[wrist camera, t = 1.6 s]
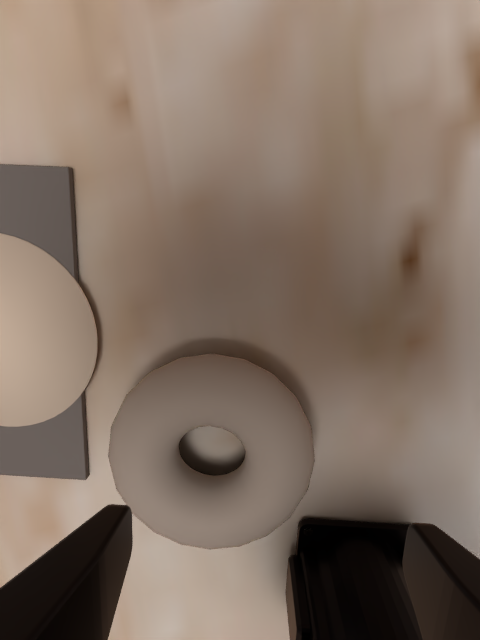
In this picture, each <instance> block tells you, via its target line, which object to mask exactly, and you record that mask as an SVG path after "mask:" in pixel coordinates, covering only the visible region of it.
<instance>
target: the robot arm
mask: <svg viewBox="0 0 480 640" xmlns="http://www.w3.org/2000/svg"><path fill="white" fill-rule="evenodd" d="M306 528H311V529H310V530H304V529H306ZM131 552H132V511H131V508H130V507H129V506H128V505H115V504H111V505H107V506H106V507H104V508H103V509H102V510H100V511H99V512H98V513H97V514H95V515H94V516H93V517H91V518H90V519H89V520H87V521H86V522H85V523H84V524H82V525H81V526H80V527H78V528H77V529H76V530H75V531H73V532H72V533H71V534H69V535H68V536H67V537H66V538H64V539H63V540H62V541H60V542H59V543H58V544H56V545H55V546H54V547H53V548H51V549H50V550H49V551H47V552H46V553H45V554H44V555H42V556H41V557H40V558H38V559H37V560H36V561H35V562H33V563H32V564H31V565H29V566H28V567H27V568H25V569H24V570H23V571H22V572H20V573H19V574H18V575H16V576H15V577H14V578H13V579H11V580H10V581H9V582H7V583H6V584H5V585H4V586H2V587H1V588H0V640H108V636H109V633H110V629H111V625H112V622H113V618H114V615H115V611H116V607H117V604H118V600H119V597H120V593H121V589H122V586H123V582H124V578H125V575H126V571H127V568H128V564H129V560H130V556H131ZM286 602H287V613H288V624H289V635H290V640H480V559H478V558H477V557H476V556H475V555H473V554H472V553H471V552H469V551H468V550H467V549H465V548H464V547H463V546H462V545H460V544H459V543H458V542H456V541H455V540H454V539H452V538H451V537H450V536H449V535H447V534H446V533H445V532H443V531H442V530H441V529H439V528H438V527H437V526H435V525H433V524H426V523H412V524H410V525H403V524H387V523H371V522H355V521H339V520H323V519H303V520H301V521H300V522H299V525H298V533H297V544H296V555H291V556H290V557H289V560H288V571H287V583H286Z"/></svg>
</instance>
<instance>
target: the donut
mask: <svg viewBox="0 0 480 640" xmlns="http://www.w3.org/2000/svg"><path fill="white" fill-rule="evenodd" d="M203 426H213V427H219V428H223V429H226V430H228V431H230V432H232V433H233V434H234V435H235V436H237V437H238V438H239V439H240V440H241V442H242V444H243V446H244V448H245V452H246V455H245V459H244V461H243V463H242V464H241V466H240V467H239V468H237V469H236V470H235V471H233V472H230V473H228V474H225V475H216V476H212V475H207V474H202V473H200V472H198V471H195V470H193V469H192V468H190V467H189V466H188V465H187V464H186V463H185V462H184V461H183V459H182V458H181V456H180V452H179V442H180V440H181V438H182V437H183V436H184V435H185V434H186V433H187V432H188V431H190V430H192V429H195V428H197V427H203ZM108 457H109V462H110V466H111V470H112V473H113V477H114V481H115V485H116V489H117V491H118V492H119V494H120V495H121V497H122V499H123V500H124V502H125V503H126V505H128V506H129V507H130V508H131V511H132V514H133V515H135V516H136V517H137V518H138V519H139V520H141V521H142V522H143V523H144V524H145V525H146V526H148V527H149V528H150V529H151V530H152V531H153V532H155V533H157V534H159V535H162V536H164V537H166V538H168V539H170V540H173V541H175V542H177V543H179V544H182V545H187V546H193V547H199V548H205V549H218V548H228V547H239V546H242V545H245V544H247V543H250V542H252V541H255V540H257V539H260V538H262V537H265V536H267V535H268V534H270V533H271V532H272V531H273V530H275V529H276V528H277V527H279V526H280V525H281V524H282V523H284V522H285V521H286V520H287V519H289V518H290V516H291V514H292V513H293V511H294V510H295V508H296V507H297V505H298V504H299V502H300V501H301V499H302V498H303V496H304V495H305V493H306V492H307V490H308V486H309V482H310V478H311V474H312V470H313V465H314V448H313V440H312V431H311V425H310V423H309V421H308V419H307V417H306V415H305V413H304V411H303V409H302V407H301V405H300V403H299V401H298V399H297V398H296V396H295V395H294V394H293V393H292V392H291V391H290V390H289V389H288V388H287V387H286V386H285V385H284V384H283V383H282V382H281V381H280V380H279V379H278V378H277V377H276V376H275V375H274V374H273V373H271V372H269V371H267V370H265V369H263V368H261V367H259V366H257V365H255V364H253V363H251V362H249V361H247V360H245V359H241V358H236V357H230V356H224V355H218V354H204V355H197V356H189V357H182V358H179V359H176V360H174V361H172V362H170V363H168V364H166V365H164V366H162V367H160V368H158V369H155V370H153V371H152V372H150V373H148V374H147V375H146V376H145V377H144V378H143V379H142V380H141V381H140V382H139V383H138V384H137V385H136V386H135V387H134V388H133V389H132V390H131V391H130V392H129V393H128V394H127V395H126V397H125V399H124V401H123V403H122V405H121V407H120V409H119V411H118V413H117V415H116V417H115V419H114V421H113V424H112V426H111V434H110V444H109V455H108Z"/></svg>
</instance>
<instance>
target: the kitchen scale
mask: <svg viewBox="0 0 480 640" xmlns="http://www.w3.org/2000/svg"><path fill="white" fill-rule="evenodd" d="M97 352H98V337H97V328H96V323H95V319H94V315H93V312H92V310H91V307H90V304H89V302H88V300H87V298H86V296H85V294H84V292H83V290H82V289H81V287H80V286H79V281H78V262H77V244H76V225H75V207H74V188H73V170H72V168H69V167H53V166H28V165H3V164H0V475H12V476H29V477H46V478H62V479H79V480H86V479H87V478H88V476H89V466H88V447H87V429H86V410H85V392H84V390H85V388H86V387H87V385H88V383H89V381H90V379H91V376H92V374H93V371H94V367H95V364H96V358H97Z"/></svg>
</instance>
